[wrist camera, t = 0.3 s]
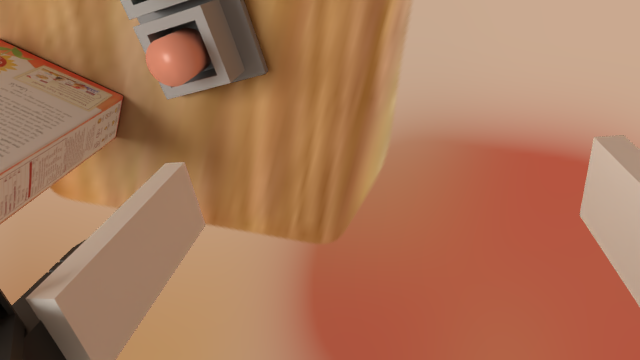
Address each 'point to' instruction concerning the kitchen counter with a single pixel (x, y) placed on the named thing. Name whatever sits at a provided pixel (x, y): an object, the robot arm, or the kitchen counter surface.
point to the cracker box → (47, 125)
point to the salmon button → (177, 57)
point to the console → (203, 37)
